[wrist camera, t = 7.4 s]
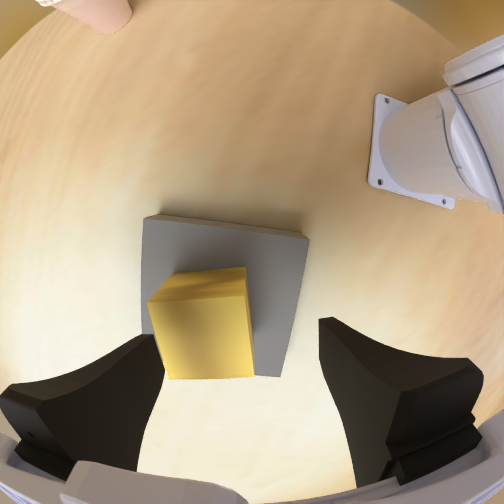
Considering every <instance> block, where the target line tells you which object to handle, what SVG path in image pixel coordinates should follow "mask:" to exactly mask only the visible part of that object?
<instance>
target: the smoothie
mask: <svg viewBox="0 0 504 504" xmlns="http://www.w3.org/2000/svg"><path fill="white" fill-rule="evenodd" d="M36 1H37V2H39V3H40V4H41V6H50V5H51V6H53V7H54V8H56V9H58V10H60V11H62V12H64V13H66V14H68V15H70V16H72V17H74V18H75V19H77V20H79V21H81V22H83V23H84V24H86V25H88V26H90V27H91V28H93V29H95V30H96V31H98V32H100V33H101V34H105V35H106V34H112V33H114V32H116V31H118V30H120V29H121V28H123V27H124V26H125V25H126V24H127V23H128V21H129V20H130V18H131V16H132V10H131V8H130V6H129V3H128V1H127V0H36Z"/></svg>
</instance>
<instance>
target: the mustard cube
mask: <svg viewBox="0 0 504 504" xmlns="http://www.w3.org/2000/svg"><path fill="white" fill-rule="evenodd" d="M147 304H148V309H149V313H150V316H151V320H152V324H153V328H154V331H155V335H156V339H157V342H158V345H159V349H160V352H161V355H162V359H163V362H164V365H165V368H166V371H167V374H168V377H169V379H223V378H241V377H255V374H254V332H253V324H252V315H251V307H250V298H249V289H248V281H247V272H246V267H236V268H226V269H216V270H205V271H194V272H183V273H172V274H171V276H170V277H169V278H168V279H167V280H166V281H165V282H164V283H163V285H162V286H161V287H160V288H159V289H158V290H157V291H156V293H155V294H154V295H153V296H152V297H151V298H150V300H149V301H148V302H147Z"/></svg>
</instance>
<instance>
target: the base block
mask: <svg viewBox="0 0 504 504" xmlns="http://www.w3.org/2000/svg"><path fill="white" fill-rule="evenodd" d="M308 245H309V239H308V238H307V237H306V236H305V235H303V234H302V233H300V232H294V231H287V230H280V229H273V228H266V227H258V226H251V225H243V224H236V223H228V222H220V221H213V220H204V219H196V218H188V217H179V216H171V215H162V214H157V215H153V216H150V217H146V218H144V220H143V235H142V258H141V321H142V334H154V337H155V341H156V344H157V347H158V350H159V353H160V356H161V359H162V355H161V352H160V349H159V345H158V342H157V339H156V335H155V331H154V328H153V324H152V320H151V316H150V313H149V309H148V304H147V302H148V301H149V300H150V298H151V297H152V296H153V295H154V294H155V293H156V291H157V290H158V289H159V288H160V287H161V286H162V285H163V283H164V282H165V281H166V280H167V279H168V278H169V277H170V276H171V274H172V273H183V272H194V271H205V270H216V269H226V268H236V267H246V272H247V281H248V289H249V298H250V307H251V315H252V324H253V332H254V374H255V375H259V376H271V377H280V376H281V372H282V368H283V364H284V360H285V356H286V351H287V347H288V343H289V339H290V334H291V330H292V325H293V321H294V316H295V312H296V307H297V302H298V297H299V293H300V288H301V283H302V278H303V272H304V267H305V262H306V256H307V251H308ZM162 361H163V359H162Z"/></svg>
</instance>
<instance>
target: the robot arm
mask: <svg viewBox="0 0 504 504" xmlns="http://www.w3.org/2000/svg"><path fill="white" fill-rule="evenodd" d="M442 78H443V80H444V81H445V82H446V84H447V85H448V87H446V88H444V89H442V90H439V91H437V92H435V93H433V94H430V95H428V96H426V97H424V98H422V99H419V100H417V101H415V102H413V103H411V104H407V103H405V102H402V101H400V100H397V99H394V98H392V97H389V96H386V95H384V94H377V95H376V96H375V106H374V122H373V135H372V145H371V155H370V164H369V172H368V179H367V180H368V184H369V185H370V186H371V187H374V188H378V189H382V190H386V191H390V192H393V193H397V194H401V195H404V196H408V197H411V198H415V199H418V200H421V201H425V202H428V203H431V204H434V205H437V206H440V207H443V208H446V209H450V210H452V209H453V208H454V206H455V199H458V200H466V201H474V202H481V203H487V205H488V207H489V210H490V211H491V212H496V213H501V214H504V34H503V35H501V36H498V37H496V38H494V39H492V40H490V41H488V42H485V43H483V44H481V45H479V46H477V47H475V48H473V49H471V50H469V51H467V52H465V53H463V54H461V55H460V56H458V57H456V58H454V59H452V60H450V61H448V62H447V63H445V64H444V73H443V75H442ZM385 99H386V100H387V101H388V104H387V103H386V102H385ZM378 179H380V181H381V185H378V182H377V181H378ZM442 200H444V202H443V203H442ZM319 360H320V364H321V368H322V371H323V375H324V378H325V380H326V383H327V385H328V388H329V390H330V392H331V395H332V397H333V399H334V402H335V404H336V406H337V409H338V411H339V414H340V417H341V419H342V422H343V426H344V430H345V434H346V438H347V442H348V446H349V450H350V454H351V459H352V464H353V469H354V474H355V480H356V486H357V489H353V490H349V491H345V492H341V493H336V494H331V495H327V496H321V497H316V498H310V499H303V500H296V501H288V502H278V503H266V504H481V503H483V502H484V501H486V500H487V499H488V498H489V497H491V496H492V495H494V494H495V493H496V492H497V491H499V490H500V489H501V488H502V487H503V486H504V409H502V410H501V411H499V412H498V413H497V414H495V415H494V416H492V417H491V418H489V419H488V420H486V421H485V422H484V423H482V424H481V425H480V426H479V427H478V428H477V429H476V427H475V426H474V425H473V423H474V422H475V417H474V415H473V414H472V413H471V411H472V409H473V407H474V405H475V403H476V401H477V399H478V397H479V394H480V392H481V389H482V386H483V380H484V376H483V373H482V371H481V370H480V369H479V368H478V367H477V366H476V365H475V364H474V363H473V362H472V361H471V360H470V359H469V358H441V357H431V356H424V355H419V354H414V353H410V352H405V351H402V350H398V349H396V348H393V347H390V346H387V345H384V344H382V343H379V342H377V341H375V340H373V339H371V338H369V337H367V336H365V335H363V334H361V333H359V332H358V331H356V330H354V329H352V328H351V327H349V326H347V325H346V324H344V323H343V322H341V321H339V320H338V319H336V318H334V317H328V318H321V319H319ZM164 374H165V368H164V365H163V362H162V359H161V356H160V353H159V350H158V347H157V344H156V341H155V337H154V334H141V335H139V336H137V337H135V338H133V339H131V340H130V341H128V342H126V343H125V344H123V345H121V346H120V347H118V348H117V349H115V350H113V351H112V352H110V353H108V354H107V355H105V356H103V357H101V358H100V359H98V360H96V361H94V362H92V363H90V364H88V365H86V366H84V367H82V368H80V369H77V370H75V371H72V372H70V373H67V374H64V375H61V376H58V377H54V378H50V379H46V380H41V381H36V382H28V383H18V384H11V385H10V386H8V387H7V388H6V389H5V391H4V392H3V393H2V394H1V395H0V408H1V410H2V412H3V414H4V416H5V417H6V419H7V420H8V422H9V423H10V424H11V426H12V427H13V428H14V430H15V431H16V432H17V434H18V435H19V436H20V438H21V441H20V442H19V443H18V442H17V441H16V440H14V439H13V438H11V437H10V436H8V435H6V434H4V433H3V432H1V431H0V489H1V490H2V491H4V492H5V493H6V494H7V495H8V496H9V497H10V498H11V499H13V500H14V501H16V502H17V503H18V504H248V501H247V500H246V499H244V498H243V497H242V496H240V495H239V494H238V493H237V492H235V491H234V490H232V489H229V488H226V487H223V486H220V485H217V484H214V483H209V482H202V481H196V480H190V479H181V478H172V477H164V476H157V475H150V474H144V473H139V472H137V465H138V459H139V453H140V448H141V443H142V439H143V435H144V431H145V428H146V425H147V422H148V420H149V417H150V415H151V412H152V410H153V407H154V405H155V403H156V400H157V398H158V395H159V392H160V390H161V387H162V383H163V379H164Z"/></svg>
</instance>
